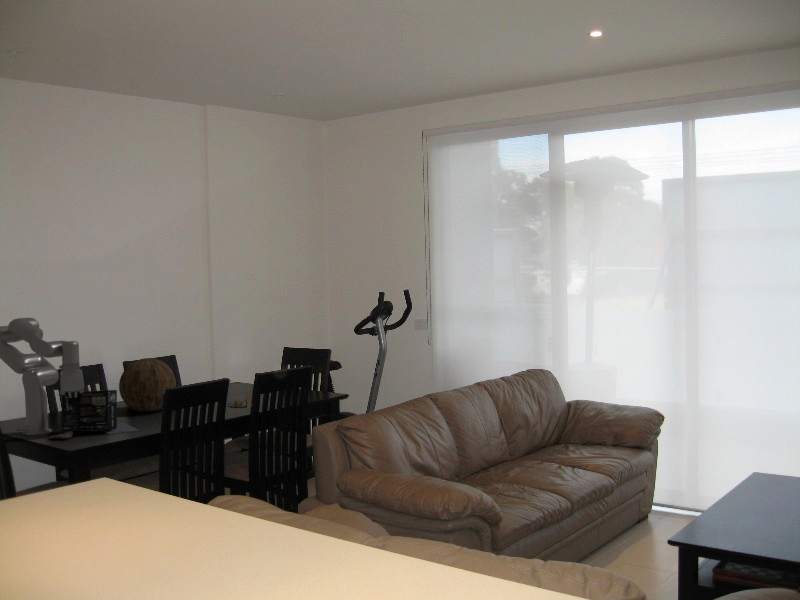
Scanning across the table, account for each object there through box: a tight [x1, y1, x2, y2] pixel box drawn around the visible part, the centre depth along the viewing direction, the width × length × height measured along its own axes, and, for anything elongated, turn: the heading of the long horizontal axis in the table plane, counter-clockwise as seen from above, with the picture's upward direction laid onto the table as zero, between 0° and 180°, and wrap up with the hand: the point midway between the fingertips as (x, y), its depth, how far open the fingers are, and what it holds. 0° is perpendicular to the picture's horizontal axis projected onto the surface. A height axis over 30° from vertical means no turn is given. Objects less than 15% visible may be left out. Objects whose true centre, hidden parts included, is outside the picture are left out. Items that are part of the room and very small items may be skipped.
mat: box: [99, 422, 140, 436], centre depth 384 cm, size 14×25×1 cm, turn 35°
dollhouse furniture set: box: [227, 388, 253, 408], centre depth 445 cm, size 13×13×11 cm
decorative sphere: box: [118, 357, 177, 413], centre depth 434 cm, size 30×30×30 cm
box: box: [61, 389, 118, 433], centre depth 378 cm, size 23×10×19 cm, turn 84°
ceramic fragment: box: [48, 431, 74, 439], centre depth 366 cm, size 11×3×10 cm
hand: (72, 405), depth 372 cm, fingers closed
